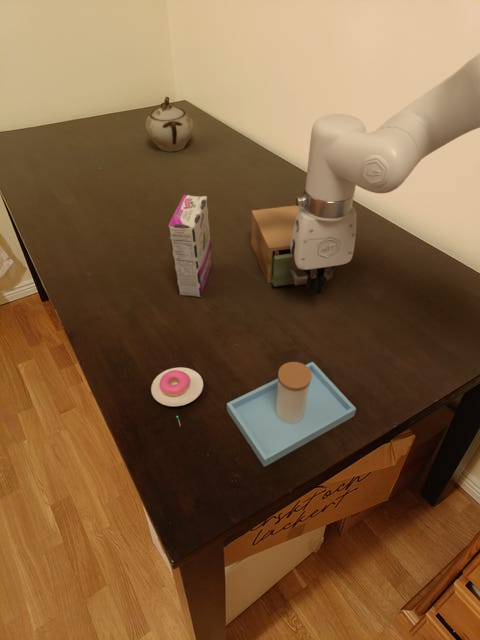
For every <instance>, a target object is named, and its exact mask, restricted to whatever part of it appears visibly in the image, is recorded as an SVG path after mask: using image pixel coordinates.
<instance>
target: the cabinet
mask: <svg viewBox="0 0 480 640" xmlns="http://www.w3.org/2000/svg"><path fill="white" fill-rule="evenodd" d="M299 209H300V206H297V205H296V204H295V205H287V206H278V207H269V208H261V209H254V210H251V220H250V221H251V222H250V223H251V225H250V226H251V227H250V228H251V229H250V233H251V234H250V245H251V247H252V250H253V252H254V254H255V257H256V259H257V262H258V264H259V267H260V269H261V271H262V273H263V276H264V278H265V281H266V284H270V283H271V284H272V279H273V275H272V256H273V251H278V250H285V249H290V248H291V240H292V234H293V229H294V224H295V221H296V217H297V214H298V211H299Z"/></svg>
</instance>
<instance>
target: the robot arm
mask: <svg viewBox="0 0 480 640" xmlns="http://www.w3.org/2000/svg"><path fill="white" fill-rule="evenodd" d="M311 127H312V128H311V132H310V140H309V150H308V159H307V160H308V161H307V169H306V178H305V187H304V188H305V189H303V193H302V195H301V196H300V197H299V196H298V197H295V205H297V206H300V209H299V211H298V214H297V217H296V221H295V224H294V229H293V234H292V240H291V248H290V253H291V255H292V257H291V260H290V263H289V266H290V268H291V269H292V270H303V271H304V272H305V273H307V274H308V276H307V284H306V287H307V289H308V290H309V291H310V292H311V295H312V296H317V295H318V296H319V295H323V290H324V288H325V286H326V282H327V281H326V277H328V276H329V275H330V272H331V270H333V269H335V268H336V267H337V266H342V265H345V264H348V263H350V262H351V261H352V259H353V256H354V252H355V244H356V237H357V235H356V234H357V209H356V208H355V207H354V206H353V203H354V202H353V201H354V197H355V191H356V187H359V188H361V189H363V190H365V191H368V192H370V193H374V194H388V193H391V192H393V191H395V190H398V188H399V187H400V186H401V185H402V184H404V182H405V180H407V178H408V177H409V176H410V175H411V174H412V173H413V172H414V170H415V168H416V167H417V166H418V165H419V163H420V162H421V161H422V160H423V159H424V158H426V157H427V156H429V155H430V154H432V153H434V152H436V151H437V150H439V149H440V148H442V147H444V146H446V145H447V144H449V143H450V142H453V141H454V140H456V139H458V138H459V137H462V136H463V135H464V136H465V135H466V134H468V133H470V132H472V131H475V130H477V129H480V52H479V53H478V54H476V55H475V56H474V57H472V58H470V59H469V60H468V61H467V62H466V63H465V64H463V65H462V66H461V67H460V68H459V69H458V70H457V71H455V72H453V74H451V75H450V76H448V77H447V78H446V79H444V80H442V81H441V82H440V83H438V84H436V85H435V86H433V87H432V88H431V89H429V90H428V91H427V92H425V93H424V94H422V95H421V96H420V97H418V98H416V99H415V100H414V101H412V102H411V103H410V104H408V105H406V106H405V107H404V108H402V109H401V110H400V111H398V112H396V113H395V114H393V116H391V117H389V118H388V119H387V120H386V121H385V122H383V123H382V124H381V125H380V126H379V127H378V128H376V129H375V130H374V131H370V132H367V129H366V125H365V123H364V121H362V120H361V119H360V118H358V117H356V116H354V115H349V114H345V113H332V114H331V113H330V114H326V115H323V116H320V117H319V118H317V119H316V120H315V122H314V123H313V124H312V126H311ZM333 271H334V270H333Z"/></svg>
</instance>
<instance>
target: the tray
mask: <svg viewBox="0 0 480 640" xmlns="http://www.w3.org/2000/svg"><path fill="white" fill-rule="evenodd" d="M305 365H306V366H307V367H308V368H309V370H310V371H311V374H312V378H311V383H310V385H309V391H308V397H307V403H306V408H305V414H304V417H303V419H302V420H301V421H300V422H298V423H295V424H288V423H284V422H282V421H281V420H280V419H279V418H278V417H277V415H276V400H277V389H278V378H276V379H273V380H271V381H270V382H268V383H266V384H264V385H262V386H258V387H257V388H256V389H253V390H251V391H249V392H247V393H245V394H243V395H241V396H238V397H237V398H235V399H233V400H231V401H228V402H226V412H227V413H228V415H229V416H230V418H231V419H232V421H233V422H234V424H235V425H236V427H237V428H238V430H239V432H240V433H241V434H242V436H243V437H244V439H245V440H246V442H247V444H248V445H249V446H250V448H251V450H252V451H253V452H254V454H255V455H256V457H257V459H258V461H260V464H262V466H263V467H265V468H266V467H267V466H269V465H271V464H272V463H275V462H276V461H278V460H279V459H281V458H282V457H285V456H287V455H288V454H290V453H292V452H293V451H295V450H297V449H299V448H301V447H302V446H304V445H306V444H307V443H310V442H311V441H313V440H315V439H316V438H318V437H320V436H322V435H323V434H325V433H327V432H329V431H331V430H332V429H334V428H336V427H337V426H339V425H341V424H343V423H345V422H346V421H348V420H350V419H351V418H353V417H355V414H356V411H357V408H356V407H355V405H353V403H352V402H351V401H350V400H349V399H348V398H347V397H346V396H345V395H344V394H343V392H342V391H341V390H340V389H339V388H338V387H337V386H336V385H335V383H333V382H332V381H331V380H330V378H328V376H327V375H326V374H325V372H323V371H322V370H321V369H320V368H319V367H318V366H317V364H316V363H314V361H311V362H308V363H307V364H305Z"/></svg>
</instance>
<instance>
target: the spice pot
mask: <svg viewBox="0 0 480 640" xmlns="http://www.w3.org/2000/svg"><path fill="white" fill-rule="evenodd" d="M306 365H307V364H304V363H302V362H299V361H288V362H286V363H283V364H282V365H281V366H280V367H279V368H278V372H277V379H278V389H277V400H276V415H277V417H278V418H279V419H280V420H281V421H282V422H284V423H288V424H295V423H298V422H300V421H301V420H302V419H303V417H304V414H305V408H306V403H307V397H308V391H309V385H310V383H311V378H312V374H311V371H310V370H309V368H308V367H307V366H306Z"/></svg>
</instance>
